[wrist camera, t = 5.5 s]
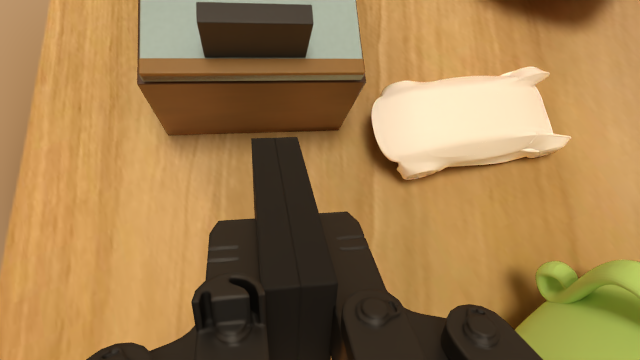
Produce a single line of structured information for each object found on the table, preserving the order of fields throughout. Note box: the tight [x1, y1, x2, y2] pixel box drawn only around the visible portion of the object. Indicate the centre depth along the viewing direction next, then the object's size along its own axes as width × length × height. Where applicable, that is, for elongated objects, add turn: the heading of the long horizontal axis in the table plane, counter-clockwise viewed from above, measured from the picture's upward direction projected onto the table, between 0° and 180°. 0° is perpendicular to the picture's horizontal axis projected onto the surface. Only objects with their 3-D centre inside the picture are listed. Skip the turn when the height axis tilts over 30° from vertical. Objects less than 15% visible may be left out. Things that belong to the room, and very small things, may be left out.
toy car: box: [372, 67, 572, 180], centre depth 35 cm, size 18×8×4 cm, turn 102°
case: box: [137, 0, 366, 135], centre depth 32 cm, size 14×18×9 cm
